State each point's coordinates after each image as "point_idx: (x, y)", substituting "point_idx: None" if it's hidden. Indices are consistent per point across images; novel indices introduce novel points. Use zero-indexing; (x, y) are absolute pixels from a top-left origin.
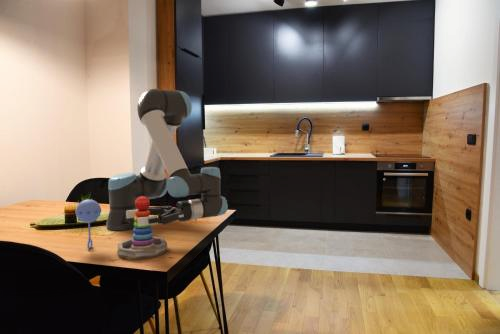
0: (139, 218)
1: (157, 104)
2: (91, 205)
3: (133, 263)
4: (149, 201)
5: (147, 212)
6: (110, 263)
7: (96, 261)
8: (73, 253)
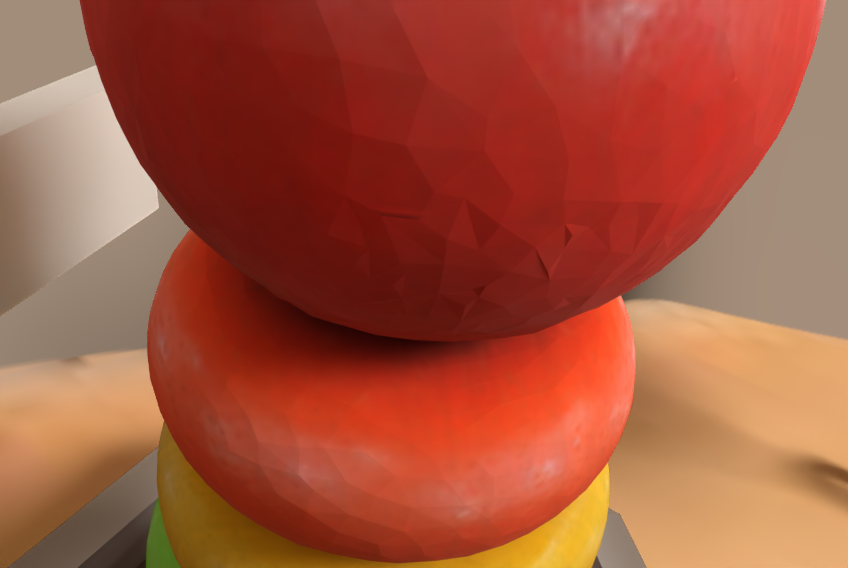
0: (86, 71)
1: None
2: None
3: (161, 419)
4: None
5: (160, 281)
6: None
7: None
8: (820, 380)
